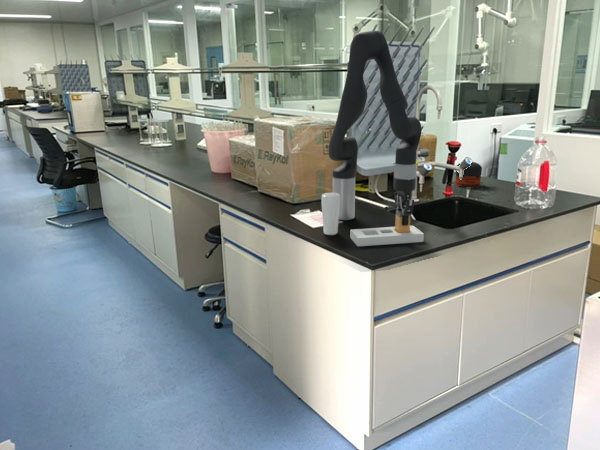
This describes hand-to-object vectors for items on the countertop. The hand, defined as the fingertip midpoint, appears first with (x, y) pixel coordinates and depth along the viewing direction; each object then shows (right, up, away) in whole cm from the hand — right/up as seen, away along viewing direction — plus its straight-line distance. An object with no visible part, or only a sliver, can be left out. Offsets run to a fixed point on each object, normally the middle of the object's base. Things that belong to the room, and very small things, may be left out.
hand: (402, 223), depth 170 cm
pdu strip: (-6, -6, +1) cm, 8 cm away
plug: (0, -4, +1) cm, 4 cm away
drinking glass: (-25, -4, +9) cm, 27 cm away
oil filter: (+52, +20, +83) cm, 100 cm away
